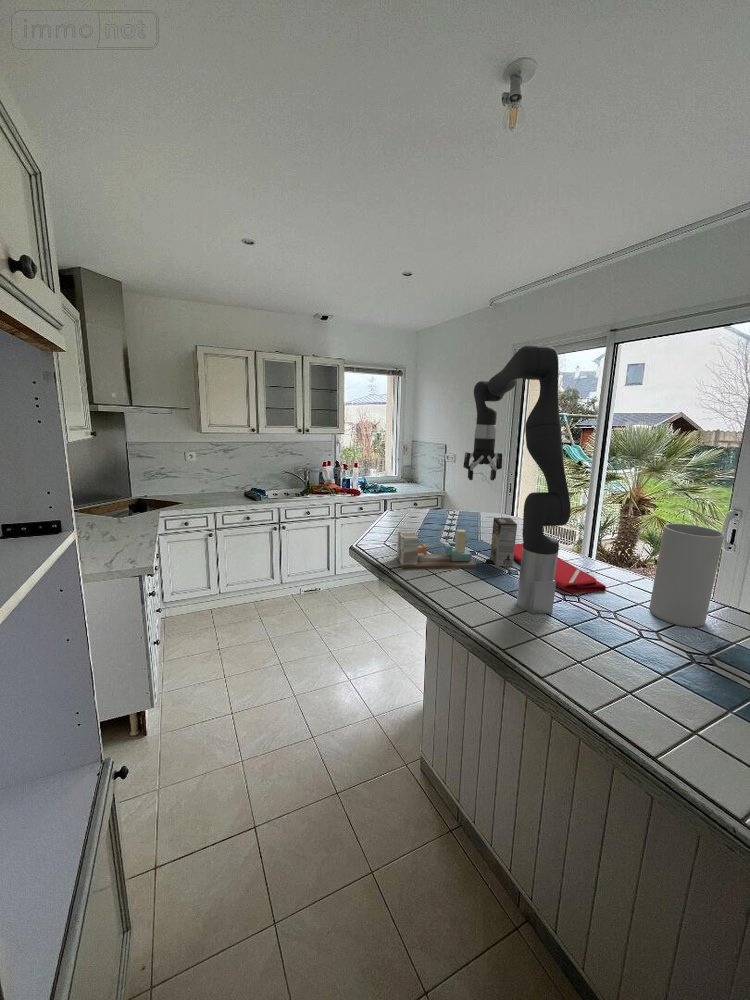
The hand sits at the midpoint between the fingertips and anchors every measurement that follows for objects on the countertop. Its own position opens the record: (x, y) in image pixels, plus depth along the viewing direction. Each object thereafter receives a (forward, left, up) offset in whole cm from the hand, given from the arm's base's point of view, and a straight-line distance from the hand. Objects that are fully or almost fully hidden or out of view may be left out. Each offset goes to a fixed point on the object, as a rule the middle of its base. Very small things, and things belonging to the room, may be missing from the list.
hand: (481, 480), depth 152 cm
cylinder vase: (-54, -37, -30) cm, 72 cm away
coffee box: (-10, -6, -30) cm, 32 cm away
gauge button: (-9, +26, -26) cm, 38 cm away
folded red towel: (-17, -20, -30) cm, 40 cm away
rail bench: (-9, +19, -29) cm, 36 cm away
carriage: (-9, +11, -28) cm, 31 cm away
